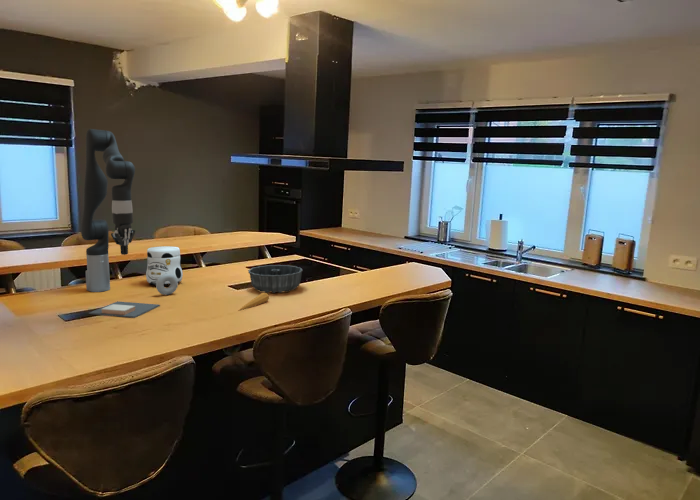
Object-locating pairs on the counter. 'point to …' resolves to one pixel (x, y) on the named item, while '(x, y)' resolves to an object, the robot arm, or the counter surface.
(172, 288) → the donut
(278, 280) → the bundt pan
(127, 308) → the tile
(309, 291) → the counter surface
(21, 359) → the counter surface
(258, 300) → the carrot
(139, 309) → the mat
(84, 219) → the robot arm
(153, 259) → the milk container
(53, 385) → the counter surface
